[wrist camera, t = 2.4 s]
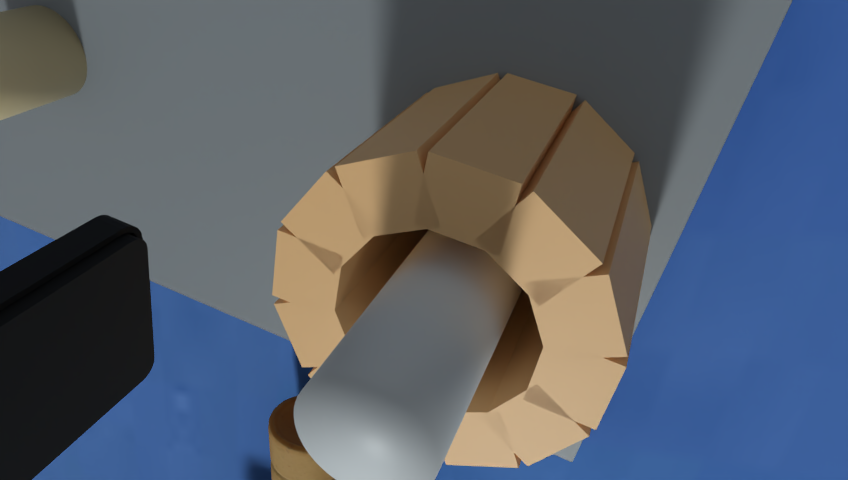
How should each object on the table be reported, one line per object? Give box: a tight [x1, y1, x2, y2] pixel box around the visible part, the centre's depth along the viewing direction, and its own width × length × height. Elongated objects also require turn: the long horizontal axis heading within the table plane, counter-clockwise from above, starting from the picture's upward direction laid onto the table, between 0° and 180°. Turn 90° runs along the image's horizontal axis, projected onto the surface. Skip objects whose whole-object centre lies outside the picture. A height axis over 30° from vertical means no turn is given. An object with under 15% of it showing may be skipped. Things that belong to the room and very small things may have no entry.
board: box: [0, 0, 792, 480], centre depth 15 cm, size 14×22×9 cm, turn 79°
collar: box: [272, 73, 651, 468], centre depth 15 cm, size 7×7×5 cm
